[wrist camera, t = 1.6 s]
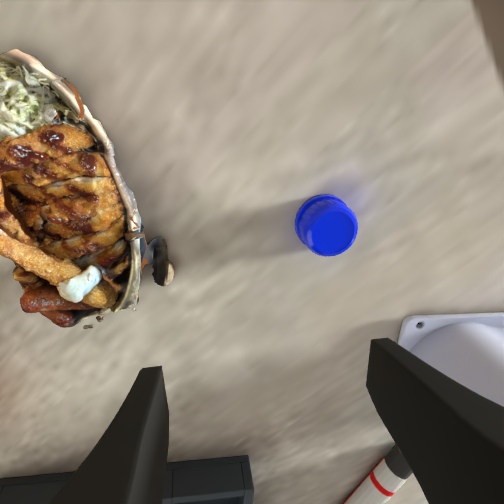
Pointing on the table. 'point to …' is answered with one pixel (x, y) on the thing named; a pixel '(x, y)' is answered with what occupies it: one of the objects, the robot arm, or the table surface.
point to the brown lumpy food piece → (66, 202)
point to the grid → (175, 484)
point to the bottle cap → (326, 225)
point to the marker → (382, 480)
